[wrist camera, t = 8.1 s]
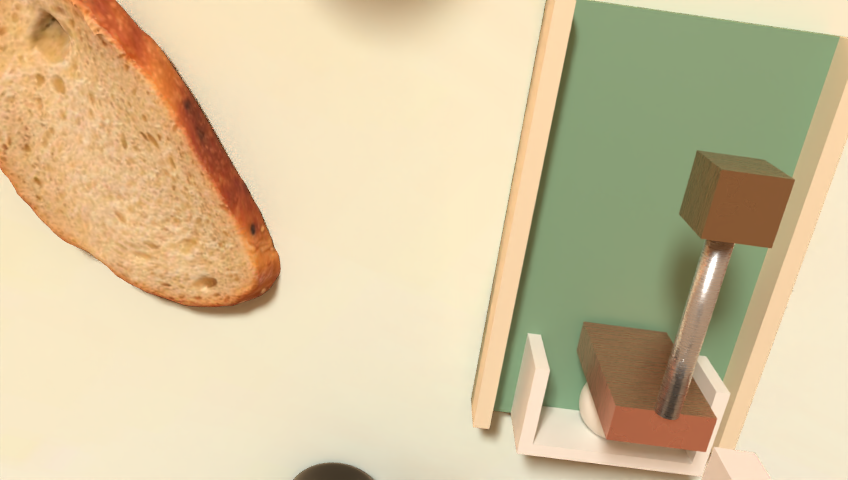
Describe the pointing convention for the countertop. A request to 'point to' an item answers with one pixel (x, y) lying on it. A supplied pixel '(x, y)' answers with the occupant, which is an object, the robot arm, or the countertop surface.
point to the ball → (590, 411)
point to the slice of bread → (124, 155)
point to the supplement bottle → (332, 472)
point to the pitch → (649, 210)
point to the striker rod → (653, 350)
